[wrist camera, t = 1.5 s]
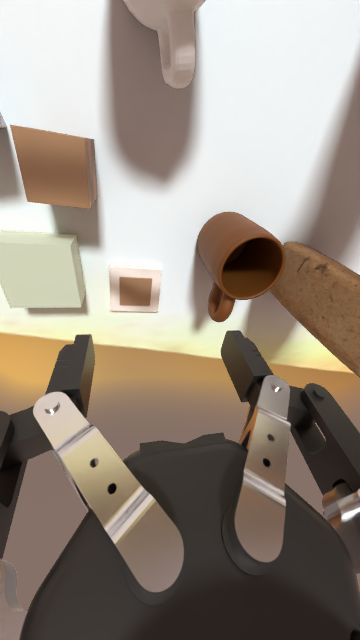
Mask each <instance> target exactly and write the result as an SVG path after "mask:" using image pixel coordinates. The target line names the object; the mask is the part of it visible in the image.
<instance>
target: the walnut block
mask: <svg viewBox="0 0 360 640" xmlns="http://www.w3.org/2000/svg"><path fill="white" fill-rule="evenodd" d="M10 127H11V131H12V136H13V140H14V144H15V149H16V153H17V158H18V162H19V166H20V171H21V175H22V180H23V184H24V188H25V193H26V197H27V201H28V202H35V203H44V204H52V205H61V206H69V207H78V208H87V209H90V208H91V207H92V205H93V203H94V201H95V200H96V198H97V184H96V168H95V151H94V139H89V138H83V137H78V136H72V135H67V134H61V133H56V132H50V131H45V130H39V129H33V128H27V127H20V126H14V125H10Z"/></svg>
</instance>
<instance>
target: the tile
mask: <svg viewBox="0 0 360 640" xmlns="http://www.w3.org/2000/svg"><path fill="white" fill-rule="evenodd" d="M161 277H162V269H160V268H145V267H129V266H114V265H109V279H110V304H111V311H137V312H158V304H159V295H160V286H161Z"/></svg>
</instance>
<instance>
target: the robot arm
mask: <svg viewBox="0 0 360 640" xmlns="http://www.w3.org/2000/svg"><path fill="white" fill-rule="evenodd" d="M221 356H222V359H223V361H224V364H225V366H226V368H227V371H228V373H229V375H230V377H231V380H232V382H233V384H234V387H235V389H236V391H237V393H238V396H239V398H240V400H241V402H249V404H250V407H249V409H248V412H247V416H246V420H245V423H244V427H243V430H242V434H241V437H240V439H239V442H238V443H236V442H234V441H231V440H228V439H225V437H224V434H223V433H216V434H208V435H203V436H201V437H199V438H196V439H194V440H192V441H190V442H187V443H184V444H183V443H182V444H181V443H175V442H168V441H156V442H148V443H140V450H139V451H136V452H134V453H133V454H131V455H129V456H128V457H127V458H126V459H124V460H123V461H122V460H121V459H120V458H119V456H118V455H117V454H116V453H115V451H114V450H113V449H112V447H111V446H110V445H109V444H108V442H107V441H106V440H105V439H104V437H103V436H102V435H101V433H100V432H99V431H98V429H97V428H95V426H93V425H90V424H89V423H88V422H87V421H86V419H85V418H86V417H87V411H88V404H89V398H90V391H91V385H92V377H93V371H94V365H95V354H94V347H93V341H92V335H91V334H89V335H76V337H75V341H74V344H72V345H66V346H64V347H63V349H62V350H61V351H60V352H59V355H58V358H57V362H56V364H55V368H54V370H53V373H52V376H51V379H50V382H49V385H48V388H47V391H46V394H45V395H44V396H43V397H42V398H40V399H39V400H38V401H37V402H36V404H35V405H34V406H32V407H30V408H28V409H26V410H23V411H20V412H17V413H15V414H11V415H8V414H7V413H5V412H3V411H0V640H360V591H359V586H358V581H357V576H356V574H359V573H360V433H359V432H358V430H357V429H356V428H355V426H354V425H353V424H352V422H351V421H350V419H349V418H348V417H347V415H346V414H345V413H344V411H343V410H342V409H341V407H340V406H339V405H338V403H337V402H336V401H335V399H334V398H333V397H332V395H331V394H330V393H329V392H328V391H327V390H326V389H325V388H323V387H321V386H320V385H317V384H313V383H312V384H311V383H310V384H307V385H306V386H305V388H304V389H302V388H297V387H292V386H289V385H288V384H287V382H286V381H284V380H283V379H281V378H280V377H277V376H275V375H273V373H272V371H271V370H270V368H269V367H268V365H267V363H266V362H265V360H264V359H263V357H261V354H260V352H259V351H258V349H257V348H256V346H255V344H254V343H253V342H251V341H250V340H249V339H248V338H244V336H243V335H242V333H241V331H239V330H237V331H227V332H226V335H225V338H224V341H223V344H222V347H221ZM315 423H317V425H318V426H319V428H320V429H321V431H322V433H323V434H324V436H325V438H326V441H325V439H324V438H323V436H322V434H321V433H320V431H319V429H318V428H317V426H316V424H315ZM290 431H291V433H292V435H293V437H294V439H295V441H296V443H297V445H298V447H299V449H300V451H301V453H302V455H303V457H304V459H305V461H306V463H307V465H308V467H309V469H310V471H311V473H312V475H313V477H314V479H315V480H316V482H317V485H318V487H319V488H320V490H321V492H322V494H323V499H322V506H323V510H324V511H323V516H324V517H323V516H322V515H321V514H320V513H318V512H317V511H316V510H315V509H314V508H313V507H312V506H311V505H309V504H308V503H307V502H306V501H305V500H304V499H303V498H301V497H300V496H299V495H298V494H297V493H296V492H295V491H294V490H292V489H291V488H290V487H289V486H288V485H287V484H286V483H285V477H286V466H287V457H288V446H289V436H290ZM49 450H52V452H53V453H54V455H55V456H56V458H57V460H58V461H59V463H60V465H61V466H62V468H63V470H64V471H65V473H66V475H67V476H68V478H69V480H70V482H71V483H72V485H73V487H74V489H75V491H76V492H77V494H78V496H79V497H80V499H81V501H82V502H83V504H84V506H85V507H86V509H87V511H88V513H87V514H86V516H85V517H84V519H83V520H82V522H81V524H80V525H79V527H78V528H77V530H76V532H75V533H74V534H73V536H72V538H71V539H70V541H69V542H68V544H67V545H66V547H65V549H64V550H63V552H62V553H61V555H60V556H59V558H58V559H57V561H56V562H55V564H54V566H53V567H52V569H51V570H50V572H49V573H48V575H47V576H46V578H45V579H44V581H43V583H42V584H41V586H40V587H39V589H38V591H37V593H36V594H35V596H34V598H33V600H32V602H31V604H30V607H29V609H28V610H24V609H22V608H21V606H20V605H19V603H18V601H17V596H16V587H17V573H16V570H15V568H14V566H13V565H12V564H10V563H9V562H6V561H4V560H2V558H3V554H4V550H5V546H6V542H7V538H8V534H9V531H10V526H11V523H12V519H13V515H14V511H15V507H16V503H17V500H18V496H19V492H20V488H21V484H22V480H23V476H24V472H25V468H26V465H27V461H28V459H31V458H33V457H35V456H37V455H40V454H42V453H44V452H46V451H49Z"/></svg>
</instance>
